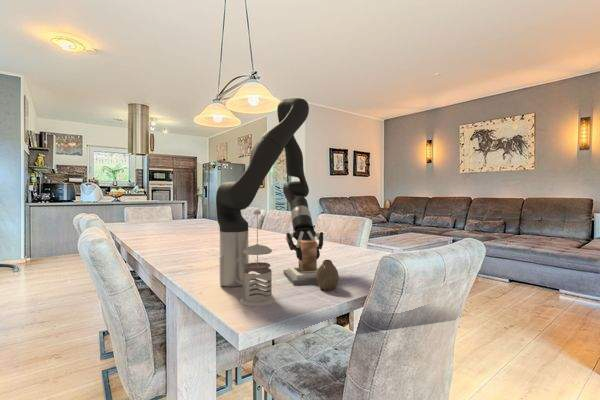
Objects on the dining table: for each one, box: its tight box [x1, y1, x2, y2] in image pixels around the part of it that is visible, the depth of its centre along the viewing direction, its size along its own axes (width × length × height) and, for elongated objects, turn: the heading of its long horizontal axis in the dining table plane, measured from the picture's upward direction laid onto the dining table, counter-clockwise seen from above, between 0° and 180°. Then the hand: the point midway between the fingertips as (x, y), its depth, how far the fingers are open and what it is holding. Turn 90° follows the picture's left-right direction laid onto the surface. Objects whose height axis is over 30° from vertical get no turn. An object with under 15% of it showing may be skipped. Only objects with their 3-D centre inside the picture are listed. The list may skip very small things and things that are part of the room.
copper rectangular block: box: [298, 240, 318, 272], centre depth 108 cm, size 5×5×10 cm
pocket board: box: [283, 264, 320, 286], centre depth 108 cm, size 14×14×3 cm
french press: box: [233, 209, 276, 307], centre depth 85 cm, size 10×12×25 cm
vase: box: [316, 259, 340, 291], centre depth 96 cm, size 7×7×9 cm
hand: (308, 258), depth 106 cm, fingers closed on copper rectangular block, 5 cm apart
